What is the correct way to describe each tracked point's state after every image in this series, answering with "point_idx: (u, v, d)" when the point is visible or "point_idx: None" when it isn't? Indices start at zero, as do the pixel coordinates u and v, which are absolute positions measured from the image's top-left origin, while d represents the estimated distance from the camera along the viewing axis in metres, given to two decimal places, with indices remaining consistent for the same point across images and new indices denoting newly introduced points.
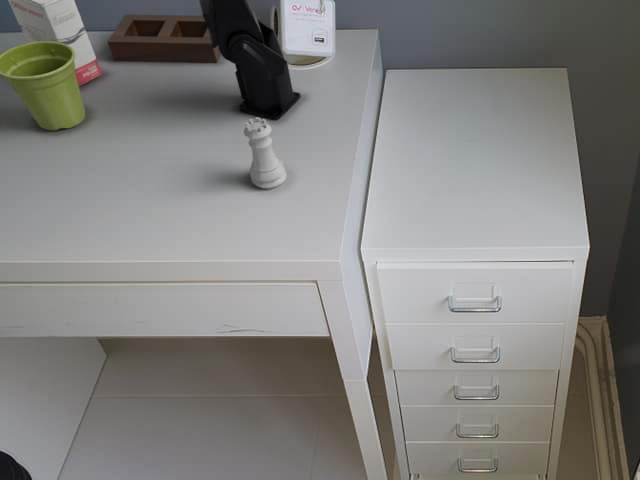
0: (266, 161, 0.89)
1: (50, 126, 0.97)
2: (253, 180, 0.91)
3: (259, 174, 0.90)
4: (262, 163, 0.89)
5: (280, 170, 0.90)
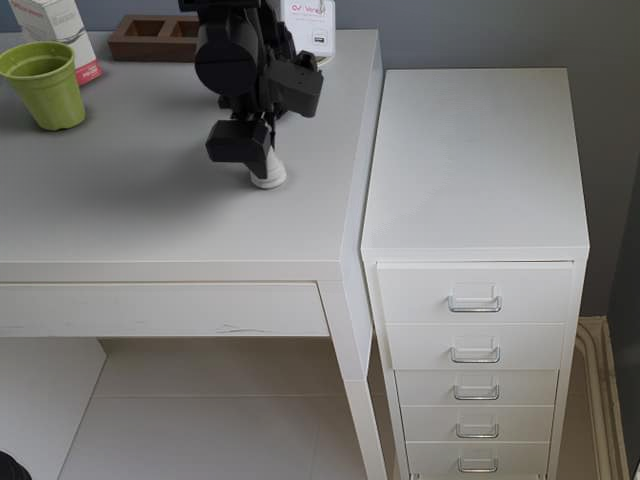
0: None
1: (50, 126, 0.97)
2: (253, 180, 0.91)
3: None
4: None
5: (280, 169, 0.90)
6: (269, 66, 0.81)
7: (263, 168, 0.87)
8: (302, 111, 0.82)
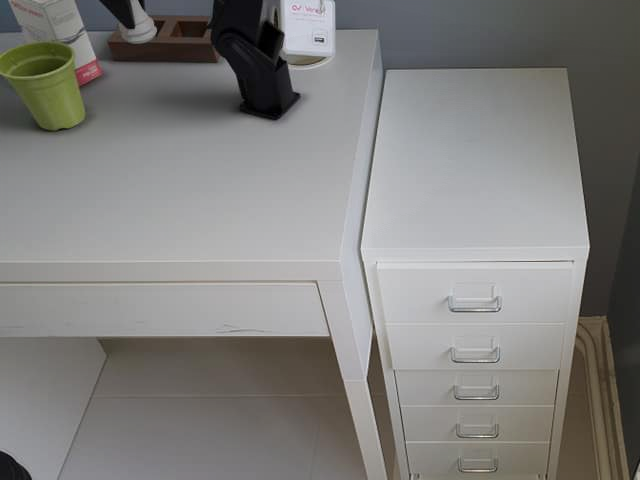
0: None
1: (50, 126, 0.97)
2: (123, 35, 0.94)
3: None
4: None
5: (148, 24, 0.93)
6: None
7: (128, 15, 0.90)
8: None
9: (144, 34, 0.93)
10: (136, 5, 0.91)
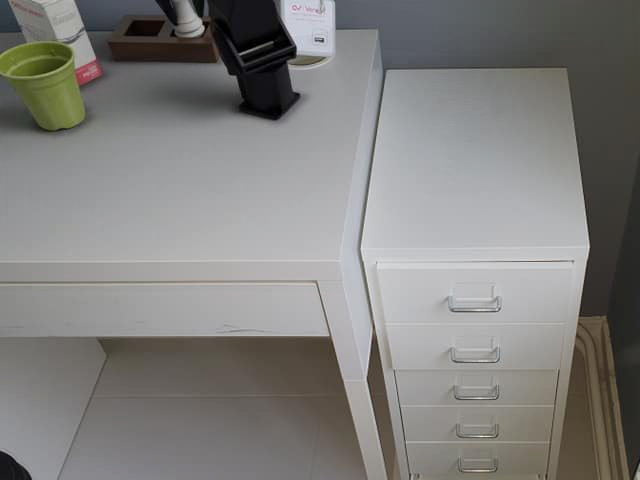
0: (177, 14, 1.07)
1: (50, 126, 0.97)
2: None
3: None
4: None
5: (189, 27, 1.08)
6: None
7: (167, 14, 1.06)
8: None
9: (184, 33, 1.09)
10: (182, 9, 1.07)
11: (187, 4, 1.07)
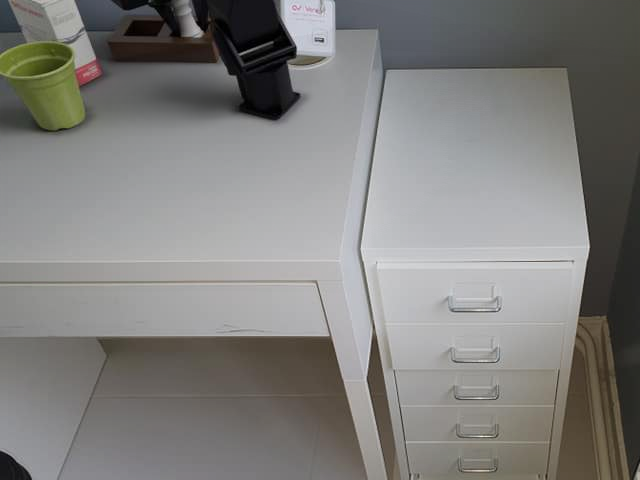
0: (181, 28, 1.09)
1: (50, 126, 0.97)
2: None
3: None
4: (179, 28, 1.09)
5: None
6: None
7: (172, 28, 1.08)
8: None
9: None
10: (186, 23, 1.08)
11: (191, 18, 1.09)
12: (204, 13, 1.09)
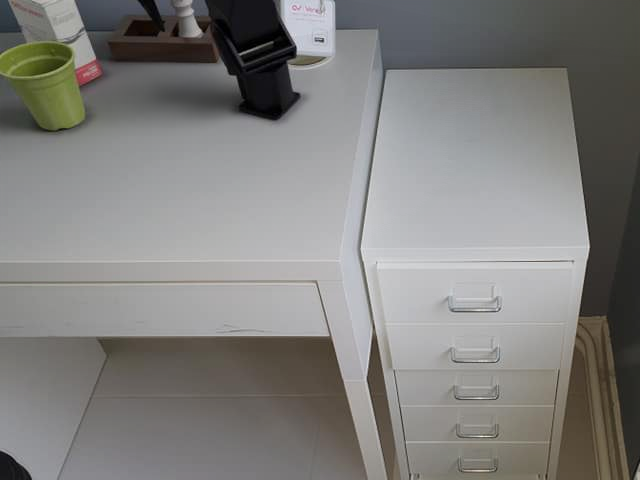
0: (183, 29, 1.09)
1: (50, 126, 0.97)
2: None
3: None
4: (180, 30, 1.09)
5: None
6: None
7: (155, 20, 1.06)
8: None
9: None
10: (188, 24, 1.09)
11: (193, 19, 1.09)
12: None
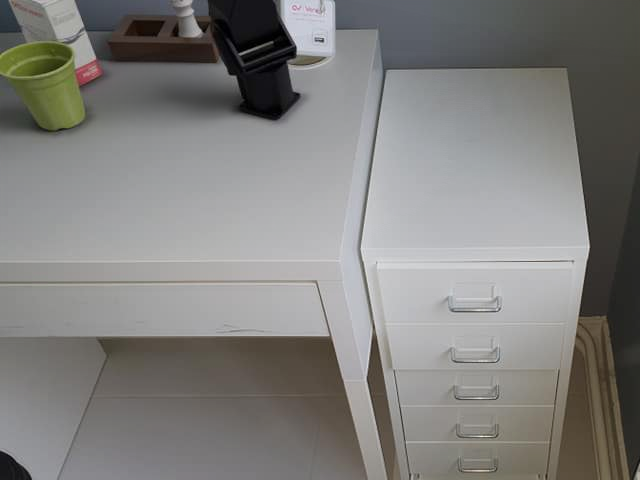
0: (183, 29, 1.09)
1: (50, 126, 0.97)
2: None
3: None
4: (180, 30, 1.09)
5: None
6: None
7: None
8: None
9: None
10: (188, 24, 1.09)
11: (193, 19, 1.09)
12: None
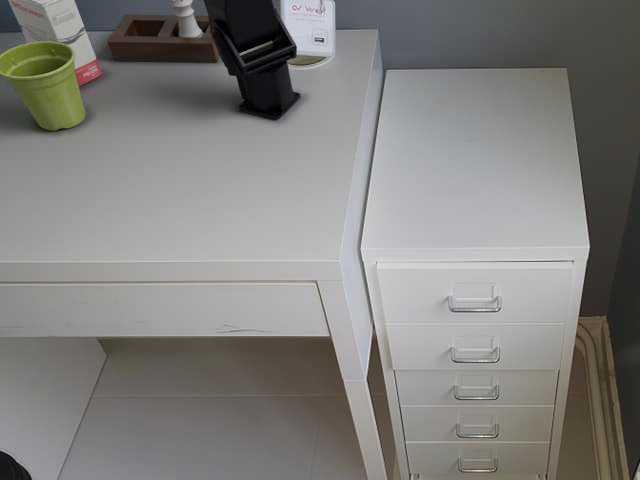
0: (183, 29, 1.09)
1: (50, 126, 0.97)
2: None
3: None
4: (180, 30, 1.09)
5: None
6: None
7: None
8: None
9: None
10: (188, 24, 1.09)
11: (193, 19, 1.09)
12: None
